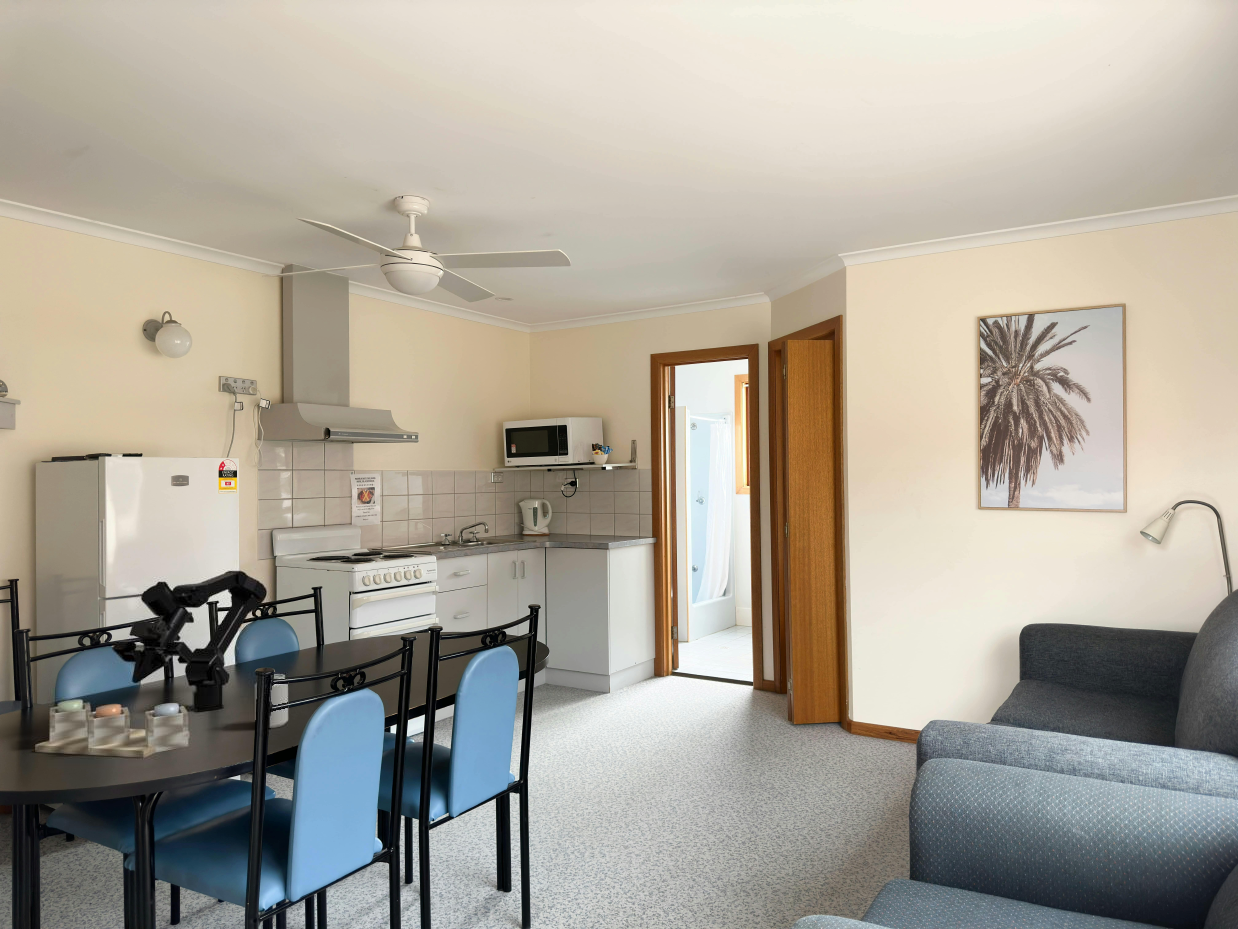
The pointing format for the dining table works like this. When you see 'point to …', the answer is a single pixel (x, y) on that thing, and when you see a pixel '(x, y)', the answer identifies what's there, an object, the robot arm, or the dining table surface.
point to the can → (277, 702)
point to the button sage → (70, 705)
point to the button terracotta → (108, 710)
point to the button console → (114, 733)
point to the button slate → (166, 709)
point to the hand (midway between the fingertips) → (134, 682)
